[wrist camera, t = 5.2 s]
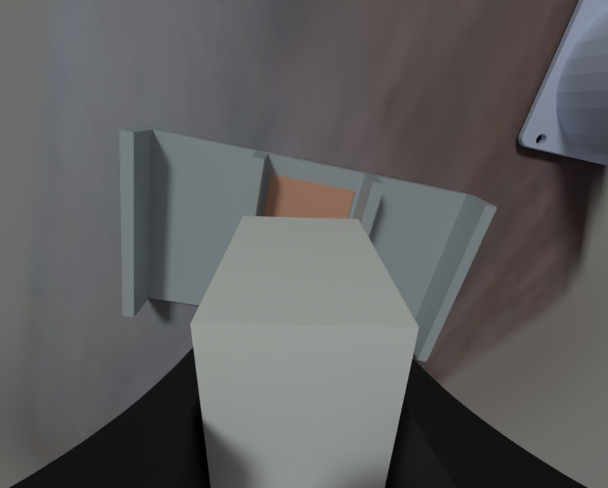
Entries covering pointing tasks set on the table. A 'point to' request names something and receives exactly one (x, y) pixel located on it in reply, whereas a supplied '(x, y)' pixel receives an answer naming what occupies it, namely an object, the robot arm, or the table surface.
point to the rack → (282, 203)
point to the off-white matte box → (301, 357)
